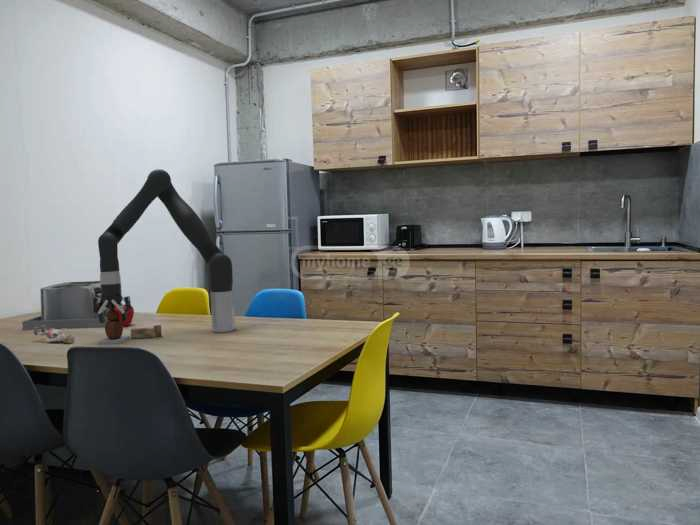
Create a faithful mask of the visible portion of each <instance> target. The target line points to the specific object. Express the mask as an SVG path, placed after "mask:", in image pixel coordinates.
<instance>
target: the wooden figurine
mask: <svg viewBox="0 0 700 525" xmlns="http://www.w3.org/2000/svg"><path fill="white" fill-rule="evenodd" d="M119 317H120V314H119V312H118V311H115V309H114V308H113V307H112V302H111V311H109V312H108V313H107V319H108V320H110V321H108V322H107V323H106V325H105V327H104V332H105V335H106V337H108V338H109V339H118V338H120V337H121V336H123V332H124V327H123V324H122V322H121V321H120V320H118V319H119Z"/></svg>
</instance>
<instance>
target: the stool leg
mask: <svg viewBox="0 0 700 525" xmlns="http://www.w3.org/2000/svg"><path fill="white" fill-rule="evenodd" d="M162 334H163V333H162V325H161V324H156V325H155V324H154V325H153V327H135V328H134V327H133V328H131V329H130V339H136V338H137V339H139V338H141V339H142V338H152V337H161V336H163V335H162Z"/></svg>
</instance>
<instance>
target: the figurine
mask: <svg viewBox="0 0 700 525" xmlns="http://www.w3.org/2000/svg"><path fill="white" fill-rule="evenodd" d="M33 334H34V336H45V335H46V336H45V337H47V338H48V339H47V338H45V339H44V340H43V343H46V342H47V343H51V342H62V344H64V343H65V344H67V345H69V343H70V344H73V343H74V342H75V336H74V335H72V334H66V333H64V330H60V329H54V328H51V329H47V328H46V325H43V326H42V327H41V330H39V327H35V328H34V330H33Z"/></svg>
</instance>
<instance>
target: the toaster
mask: <svg viewBox="0 0 700 525" xmlns="http://www.w3.org/2000/svg"><path fill="white" fill-rule="evenodd" d="M96 297H98V298H101V284H100V280H91V281H88V280H87V281H65V282H62V283H61V282H60V283H57V284H56V283H55V284H51V285H47V286H44V287H41V288H40V316H41V321H44V320H73V319H99V314H98V313H94V312H93V299H94V298H96ZM102 305H103V303H102V302H101V301H100V303H99V310H100V308H101V306H102ZM109 311H111V308H106V309H105V311H104V312H103V314H104V318H106V317H107V313H108V312H109Z"/></svg>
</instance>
